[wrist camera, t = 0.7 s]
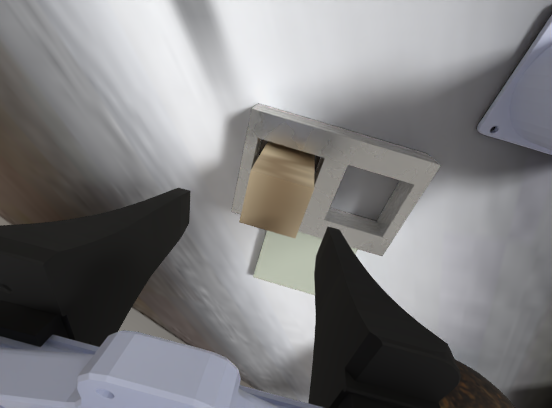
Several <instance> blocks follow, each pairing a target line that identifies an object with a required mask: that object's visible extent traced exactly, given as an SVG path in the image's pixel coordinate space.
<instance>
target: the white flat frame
mask: <svg viewBox="0 0 552 408" xmlns="http://www.w3.org/2000/svg"><path fill="white" fill-rule="evenodd" d="M262 139H263V140H266V141H270V142H273V143H276V144H280V145H283V146H286V147H290V148H293V149H296V150H300V151H303V152H306V153H310V154H313V155H317V156H320V157H321V158H320V161H319V163H318V166H317V169H316V171H315V174H314V191H313V193H312V196H311V199H310V201H309V204H308V207H307V209H306V212H305V214H304V217H303V220H302V222H301V225H300V228H299V230H298V232H302V233H305V234H308V235H312V236H315V237H319V238H322V239H323V237H324V234H325V232H326V229H327V227H332V228H336V229H339V230H340V231H341V233H342V234H343V236H344V238H345V239H346V241H347V243H348V244H349V246H350V247H352V248H356V249H359V250H363V251H366V252H369V253H373V254H376V255H380V256H383V254H384V253H385V251H386V250H387V248H388V247H389V245H390V244H391V242H392V240H393V239H394V237H395V236H396V234H397V233H398V231H399V230H400V228H401V227H402V225H403V223H404V222H405V220H406V219H407V217H408V216H409V214H410V213H411V211H412V209H413V208H414V206H415V205H416V203H417V202H418V200H419V199H420V197H421V196H422V194H423V192H424V191H425V189H426V188H427V186H428V185H429V183H430V182H431V180H432V179H433V177H434V175H435V174H436V172H437V171H438V169H439V168H440V166H441V165H440V164H439V163H438V162H437V161H436V160H434V159H433V158H432V157H431V156H430V155H428V154H426V153H423V152H420V151H416V150H413V149H410V148H406V147H403V146H400V145H396V144H393V143H390V142H386V141H383V140H380V139H376V138H373V137H370V136H366V135H363V134H359V133H356V132H353V131H349V130H346V129H343V128H339V127H336V126H333V125H329V124H326V123H323V122H319V121H316V120H313V119H309V118H306V117H303V116H299V115H296V114H293V113H289V112H286V111H283V110H279V109H276V108H272V107H269V106H266V105H262V104H259V103H258V104H257V105H256V106H254V107H253V108H252V109H251V114H250V119H249V124H248V129H247V134H246V139H245V144H244V149H243V155H242V160H241V165H240V170H239V175H238V180H237V185H236V191H235V196H234V201H233V206H232V211H231V212H234V213H237V214H241V212H242V208H243V203H244V199H245V194H246V190H247V185H248V181H249V176H250V171H251V169H252V167H253V166H254V164H255V162H256V161H257V159H258V154H259V150H260V145H261V141H262ZM348 165H350V166H354V167H357V168H360V169H364V170H367V171H370V172H374V173H377V174H380V175H384V176H387V177H390V178H394V179H397V180H400V181H399V183H398V185H397V186H396V188H395V190H394V192H393V193H392V195H391V197H390V198H389V200H388V202H387V204H386V205H385V207H384V209H383V211H382V212H381V214H380V216H379V218H378V219H377V221H374V220H371V219H367V218H364V217H361V216H357V215H354V214H351V213H347V212H344V211H340V210H337V209H334V208H330V205H331V203H332V201H333V198H334V196H335V194H336V192H337V189H338V187H339V185H340V182H341V180H342V178H343V176H344V173H345V171H346V169H347V166H348Z"/></svg>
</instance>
